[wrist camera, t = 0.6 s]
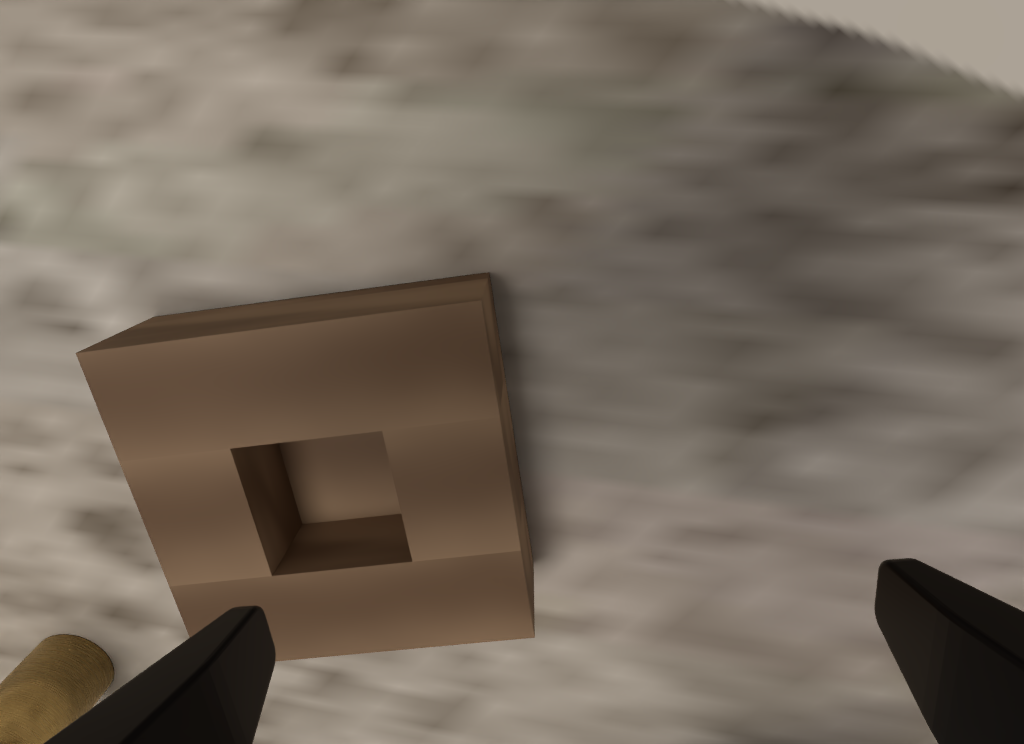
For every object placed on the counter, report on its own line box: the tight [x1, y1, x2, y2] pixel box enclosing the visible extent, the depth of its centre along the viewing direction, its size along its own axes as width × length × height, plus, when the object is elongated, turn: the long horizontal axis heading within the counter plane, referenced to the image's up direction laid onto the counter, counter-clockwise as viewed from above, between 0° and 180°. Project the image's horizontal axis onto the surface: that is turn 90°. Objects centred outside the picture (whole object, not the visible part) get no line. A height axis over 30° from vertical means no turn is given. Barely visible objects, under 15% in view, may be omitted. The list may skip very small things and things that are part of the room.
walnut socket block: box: [76, 272, 535, 661], centre depth 22 cm, size 12×12×4 cm
